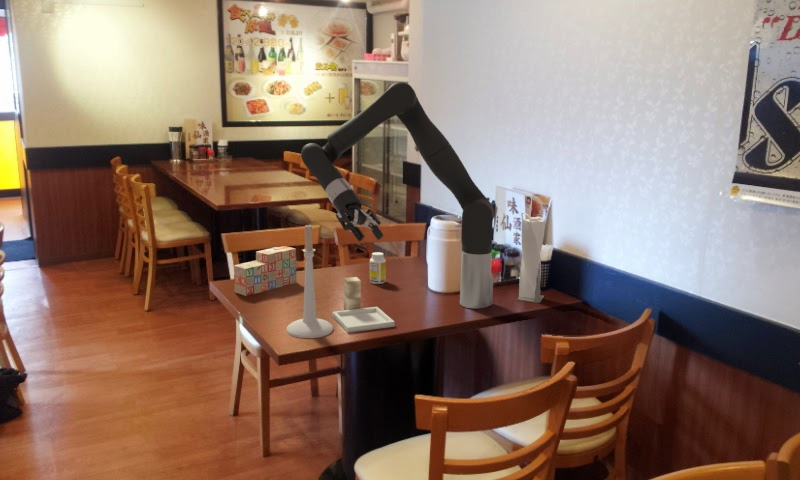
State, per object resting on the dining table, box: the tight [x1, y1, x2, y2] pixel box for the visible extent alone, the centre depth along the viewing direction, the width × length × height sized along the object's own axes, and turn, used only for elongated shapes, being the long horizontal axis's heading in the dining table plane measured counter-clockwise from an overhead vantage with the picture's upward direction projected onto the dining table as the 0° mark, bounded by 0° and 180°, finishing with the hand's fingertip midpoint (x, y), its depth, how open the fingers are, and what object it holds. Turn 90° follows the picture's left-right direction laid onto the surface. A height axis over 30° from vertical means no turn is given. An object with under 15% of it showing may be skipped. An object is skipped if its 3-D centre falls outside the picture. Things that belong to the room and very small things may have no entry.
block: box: [343, 276, 362, 311], centre depth 203 cm, size 4×4×10 cm
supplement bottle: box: [369, 251, 387, 285], centre depth 233 cm, size 6×6×10 cm
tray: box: [332, 306, 396, 333], centre depth 195 cm, size 14×14×2 cm
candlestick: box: [286, 224, 334, 339], centre depth 185 cm, size 13×13×30 cm
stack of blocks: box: [233, 245, 298, 297], centre depth 225 cm, size 21×6×12 cm, turn 140°
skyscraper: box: [517, 211, 546, 304], centre depth 216 cm, size 8×8×28 cm
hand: (371, 238), depth 195 cm, fingers open, 8 cm apart
